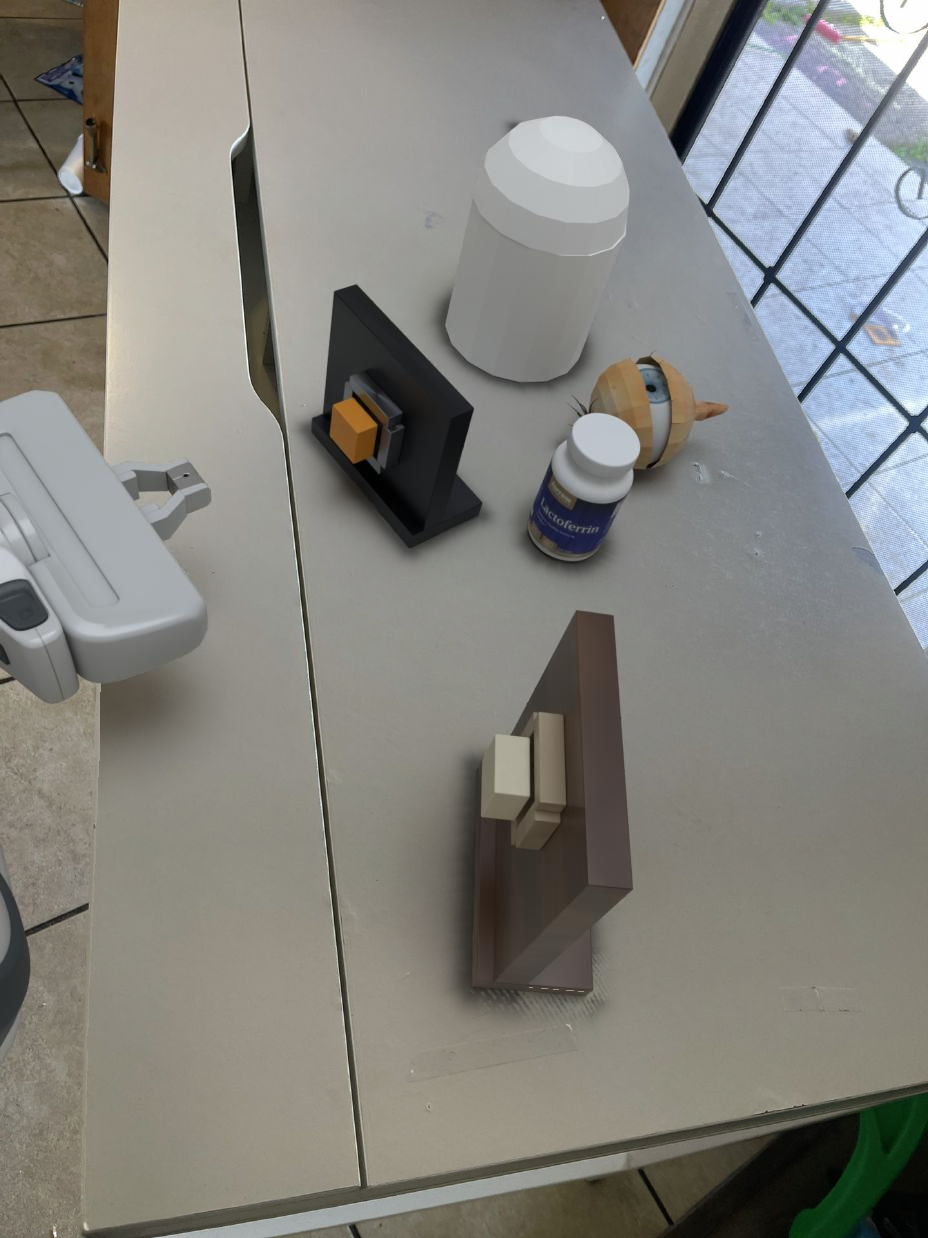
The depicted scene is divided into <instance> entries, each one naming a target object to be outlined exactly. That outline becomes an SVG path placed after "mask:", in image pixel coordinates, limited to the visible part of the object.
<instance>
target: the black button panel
mask: <svg viewBox="0 0 928 1238" xmlns="http://www.w3.org/2000/svg"><path fill="white" fill-rule="evenodd" d="M331 306H332V307H331V318H330V329H329V340H328V349H327V350H328V351H327V360H326V362H327V363H326V371H325V372H326V373H325V383H324V395H323V403H322V404H323V405H322V413H321V414H319V415H315V416H313V417H312V418H311V425H310V426H311V427H310V428H311V429H310V431H311V433H312V434H313V435H314V437H316V439H317V440H318V441H319V442H320V443H321V444H322V446H323V447H324V448H325V449H326V450H327V451H328V453H329V454H330V455H331V456H332V458H333V459H334V460H335V461H336V462H337V464H339V466H340V467H341V468H342V469H343V471H344V472H345V473H346V474H347V475H348V476H349V478H350V479H351V480H352V481H353V482H354V483H355V485H356V486H357V487H358V488H359V490H360V491H361V492H362V494H364V496H365V497H366V498H367V499H368V500H369V501H370V503H371V504H372V505H373V506H374V507H375V508H376V510H377V511H378V512H379V514H380V515H382V517H383V518H384V519H385V520H386V522H387V523H388V524H389V525H390V526H391V528H392V529H393V530H394V531H395V532H396V533H397V535H398V536H399V537H400V538H401V540H403V541H404V543H405V544H406V545H407V546H408V548H409V549H411V548H413V547H416V546H417V545H420V544H421V543H423V542H426V541H427V540H429V539H432V538H434V537H436V536H438V535H441V534H442V533H445V532H446V531H448V530H450V529H452V528H454V527H456V526H458V525H460V524H462V523H465V522H467V521H468V520H470V519H473V518H474V517H477V516H479V515H480V512H481V509H482V507H483V501H482V500H481V499H480V498H479V497H478V496H477V494H475V492H474V491H473V490H472V489H471V488H470V487H469V486H468V485H467V483H466V482H465V481H464V480H463V478H461V477H460V476H459V474H458V470H459V466H460V462H461V459H462V455H463V451H464V448H465V444H466V441H467V437H468V433H469V429H470V427H471V422H472V419H473V414H474V412H475V407H474V406H473V405H472V404H471V403H470V402H469V401H468V400H467V398H466V397H465V396H464V395H463V394H462V393H461V392H460V391H459V390H458V389H457V388H456V387H455V386H454V385H453V384H452V383H451V382H450V381H449V380H448V378H447V377H446V376H445V375H444V374H443V373H442V372H441V371H440V370H439V368H437V367H436V366H435V365H434V364H433V363H432V362H431V361H430V360H429V358H428V357H426V355H424V353H423V352H422V351H421V350H420V349H419V348H418V347H417V345H415V343H413V342H412V340H410V338H409V337H408V336H407V335H406V334H405V333H404V332H403V331H402V330H401V328H399V327H398V326H397V325H396V324H395V323H394V322H393V321H392V320H391V318H389V316H388V315H387V314H386V313H385V312H384V311H383V310H382V309H381V308H380V307H379V306H378V305H377V304H376V303H375V302H374V301H373V299H372V298H370V296H368V294H367V293H366V292H365V291H364V290H363V289H362V288H361V287H360V285H359V284H357V283H355V284H352V285H349V286H346V287H342V288H339V289H336V290H333V297H332V305H331ZM350 398H354V399H355V400H356V401H357V402H358V403H359V405H360V406H361V407H362V408H363V409H364V410H365V411H366V412H367V414H368V415H369V416H370V417H371V418H372V419H373V420H374V421H375V423H376V424H377V425H378V428H377V434H376V440H375V446H374V452H373V456H371V457H369V458H366V459H364V460H362V461H359V462H357V463H354V464H353V463H352V462H351V460H350V459H349V458H348V457H347V456H346V454H345V453H344V452H343V451H342V450H341V449H340V447H339V446H338V445H337V444H336V443H335V442H334V440H333V439H332V438H331V437H330V428H331V419H332V409H333V405H334V404H337V403H339V402H342V401H344V400H347V399H350Z"/></svg>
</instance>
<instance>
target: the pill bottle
mask: <svg viewBox="0 0 928 1238" xmlns="http://www.w3.org/2000/svg"><path fill="white" fill-rule="evenodd" d="M572 425H573V426H571V430H570V431H569V433H568V437H567V438H566V439H565V440H564V441H562V443H560V444H559V446H558V447H556V449H555V450H554V452H553V454H552V456H551V459H550V462H549V464H548V467H547V469H546V472H545V474H544V477H543V479H542V481H541V484H540V486H539V488H538V491H537V493H536V495H535V499H534V501H533V503H532V506H531V509H530V511H529V514H528V517H527V530H528V534H529V536H530V537H531V540H532V542H533V543H534V544H535V546H537V548H538V549H539V550H541V552H543V553H545V554H547V555H548V556H550V557H552V558H554V559H556V560H560V561H565V562H579V561H583V560H586V559H588V558H590V557H592V556H593V555H594V554H595V553H597V552H598V550H599V549H600V547H601V545H602V544H603V542H604V540H605V538H606V536H607V534H608V533H609V530H610V528H611V526H612V525H613V523H614V521H615V519H616V518H617V515H618V514H619V512H620V509H621V507H622V506H623V504H624V502H625V499H626V498H627V496H628V494H629V493H630V490H631V489H632V485H633V481H634V469H632V468H633V466H634V464H635V462H636V460H637V458H638V456H639V453H640V442H639V439H638V437H637V435H636V433H635V432H634V430H633V429H632V428H631V427H630V426H629V425H628V424H627V423H625V422H624V421H622V420H621V419H619V418H617V417H614V416H612V415H608V414H604V413H591V414H587V415H585V414H583V415H582V417H578V419H576V421H575V422H574V423H573V424H572Z"/></svg>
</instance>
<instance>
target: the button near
mask: <svg viewBox="0 0 928 1238" xmlns="http://www.w3.org/2000/svg"><path fill="white" fill-rule="evenodd" d="M481 761H482V790H481V817H486V818H495V819H505V820H515V819H516V818H517V816H518V815H519V813H520V811H521V810H522V808H523V807H524V805H525V804H526V802H527V801H528V799H529V797H530V738H527V737H519V736H511V734H502V733H495V734H494V736H493V738H492V740H491V742H490V744H489V746H488V748H487V750H486V752H485V755H484V757H483V758H482V759H481Z"/></svg>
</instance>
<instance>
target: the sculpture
mask: <svg viewBox="0 0 928 1238" xmlns="http://www.w3.org/2000/svg"><path fill="white" fill-rule="evenodd" d="M654 352H657V350H653V351H652V352H651V353H650V354H649V355H648V356H643V357H640V358H638V359H637V361H636V362H634V360H633V359H632V358H631V357H628V358H625V359H623V360H620V361H618V362H616V363H614V364H612V365H609V366H608V367H607V368H606V369H605V370H604V371H602V373H601V374H600V375H599V376H598V378H597V381H596V382H595V385H594V387H593V389H592V391H591V394H590V399H589V405H588V410H587V408H586V407H585V406H584V405H583V404H582V403H581V402H579V400H578V399H577V398H576V397H575V396H573V399H574V400H575V401H576V403H577V404H578V405H579V407H580V408H581V410H582V412H583V415H587V414H591V413H604V414H608V415H612V416H614V417H617V418H619V419H621V420H622V421H624V422H625V423H627V424H628V425H629V426H630V427H631V428H632V429H633V430H634V432H635V433H636V435H637V437H638V439H639V442H640V453H639V456H638V458H637V460H636V462H635V464H634V466H633V468H632V469H633V470H647V469H653V468H656V467H657V468H658V467H660V466H662V465H666V463H667V462H669V461H670V460H671V459H672V458H673V457H674V456H675V455H677V454H678V453H679V452H680V451H681V450H683V448H684V447H686V446H687V443H688V442H689V441H688V440H689V437H690V434H691V432H692V428H693V425H694V422H695V421H697V422H702V421H705V420H707V419H711V418H714V417H717V416H720V415H724V414H725V413H727V412H728V408H729V407H730V405H728V404H724V403H718V402H717V403H716V402H710V401H704V400H703V401H702V400H701V401H700V400H699V401H698V400H697V401H696V400H695V396H694V392H693V388H692V386H691V385H690V384H689V382H688V381H687V379H686V377H684V375H683V373H682V372H681V371H680V370H678V369H677V368H676V367H674V365H672V364H670V362H668V361H667V360H666V359H664V358H662V357H658V356H653V353H654ZM566 404H567V405H568V406H570V407H571V408H572V409H573V410H574V411H575V412H576V414H577V416H578V418H580V417H582V416H583V415H582V414H581V413H580V412H579V411H578V410H579V409H576V408H574V407H573V406H572V405H570V403H568V402H566ZM568 425H569V426H571V427H573V425H574V424H570V423H568ZM568 436H569V435H568ZM568 436H566V438H568Z"/></svg>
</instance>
